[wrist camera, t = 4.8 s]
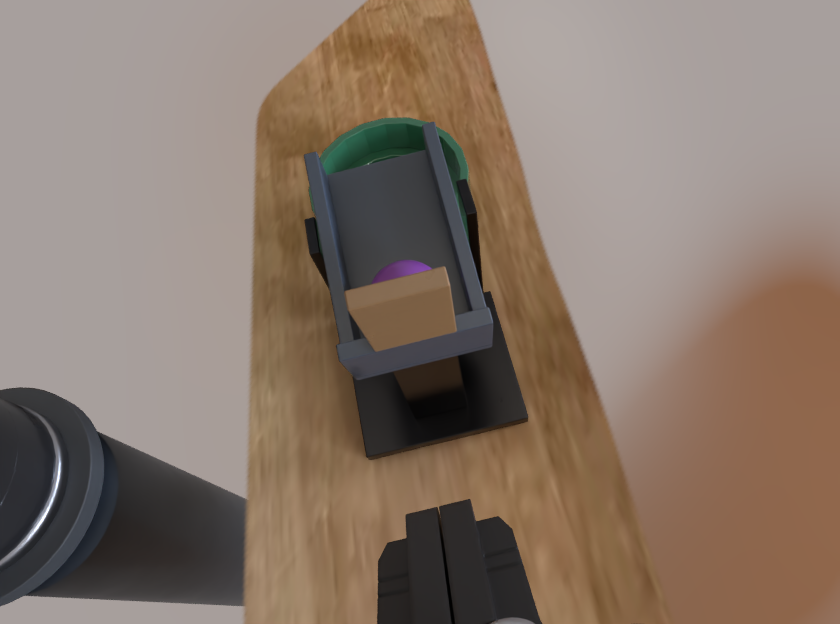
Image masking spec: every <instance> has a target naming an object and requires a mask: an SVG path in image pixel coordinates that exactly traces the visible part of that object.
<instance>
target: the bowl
mask: <svg viewBox="0 0 840 624" xmlns="http://www.w3.org/2000/svg"><path fill="white" fill-rule="evenodd" d="M426 123H429V122H425V121H421V120H416V119H412V118H383V119H379V120H375V121H371V122H368V123H364V124H361V125H359V126H357V127H355V128H353V129H352V130H350V131H348V132H346V133H344V134H342V135H341V136H339V137H338V138H337V139H336V140H335V141H334V142H333V143H332V144H331V145H330V146H329V147H328V148H326V149H325V150H324V152H323V153H322V155H321V157H320V161H321V163H322V165H323V167H324V169H325V171H326V174H327V175H329V174H333V173H336V172H340V171H344V170H348V169H352V168H356V167H360V166H364V165H368V164H372V163H376V162H380V161H384V160H387V159H391V158H395V157H399V156H403V155H407V154H411V153H415V152H419V151H423V150H425V144H424V137H423V131H422V125H423V124H426ZM436 129H437V132H438V136H439V139H440V143H441V147H442V150H443V154H444V157H445V161H446V164H447V168H448V172H449V175H450V179H451V182H452V186H453V189H454V193H455V197H456V200H457V204H458V207H459V201H458V193H457V184H456V181H458V180H462V179H467V182H468V185H469V189H470V179H469V169H468V165H467V162H466V159H465V156H464V153H463V150H462V148H461V147H460V146H459V145H458V144H457V143H456V141H455V140H454V139H453V138H452V137H451V136H450V134H448V133H447V132H445V131H444V130H442V129H440V128H438V127H437V126H436ZM470 192H471V190H470ZM309 196H310V201H311V207H312V211H313V213H314V215H315V211H314V206H313V201H312V195H311V190H310V186H309ZM459 211H460V209H459ZM315 217H316V216H315Z"/></svg>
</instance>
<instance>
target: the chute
mask: <svg viewBox="0 0 840 624" xmlns="http://www.w3.org/2000/svg"><path fill="white" fill-rule="evenodd" d="M422 131H423V137H424V144H425V150H423V151H419V152H415V153H411V154H407V155H403V156H399V157H395V158H391V159H387V160H384V161H380V162H376V163H372V164H368V165H364V166H360V167H356V168H352V169H348V170H344V171H340V172H336V173H333V174H329V175H327V174H326V171H325V169H324V167H323V165H322V163H321V161H320V158H319V156H318V154H317V152H313V153H309V154H305V155H304V159H305V164H306V170H307V175H308V180H309V185H310V190H311V195H312V201H313V206H314V211H315V216H316V221H317V226H318V232H319V237H320V242H321V247H322V252H323V257H324V263H325V268H326V273H327V278H328V283H329V289H330V294H331V299H332V304H333V309H334V314H335V320H336V325H337V330H338V335H339V340H340V344H337V345H336V347H337V353H338V358H339V361H340V362H341V364H342V365H343V366H344V367H345V368H346V369H347V370H348V371H349V372H350V373H351V374H352V375H353V376H354V378H355V379H356V380H361V379H365V378H369V377H373V376H377V375H381V374H385V373H389V372H393V371H397V370H401V369H405V368H409V367H413V366H417V365H421V364H425V363H429V362H434V361H438V360H442V359H446V358H450V357H454V356H458V355H462V354H466V353H470V352H474V351H478V350H482V349H486V348H490V347H492V338H493V320H492V316H491V313H490V309H489V307H486V304H485V300H484V296H483V293H482V289H481V286H480V282H479V279H478V275H477V271H476V268H475V264H474V261H473V257H472V254H471V250H470V247H469V243H468V239H467V236H466V232H465V229H464V225H463V222H462V218H461V214H460V211H459V207H458V204H457V200H456V197H455V193H454V189H453V186H452V182H451V179H450V175H449V172H448V168H447V164H446V161H445V157H444V154H443V150H442V147H441V143H440V139H439V136H438V132H437V129H436V125H435V122H430V123H426V124H423V125H422ZM400 260H414V261H418V262H421V263H423V264H425V265H427V266H429V267H430V268H432V269H430V270H426V271H422V272H418V273H414V274H410V275H406V276H402V277H398V278H394V279H390V280H386V281H382V282H378V283H374V284H371V283H372V281H373V279H374V278H375V276H376V275H377V274H378V272H379V271H380V270H382V269H383V268H384V267H386V266H387V265H389V264H391V263H393V262H396V261H400Z"/></svg>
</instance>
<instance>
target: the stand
mask: <svg viewBox="0 0 840 624" xmlns="http://www.w3.org/2000/svg"><path fill="white" fill-rule="evenodd" d="M456 184H457V193H458V201H459V209H460V214H461V218H462V222H463V225H464V229H465V232H466V236H467V239H468V243H469V247H470V250H471V254H472V257H473V261H474V264H475V268H476V271H477V275H478V279H479V282H480V286H481V289H482V293H483V282H482V270H481V257H480V245H479V233H478V221H477V211H476V208H475V205H474V201H473V198H472V195H471V192H470V189H469V185H468V182H467V179H462V180H458V181H456ZM305 227H306V233H307V240H308V246H309V253H310V256H311V257H312V259H313V261H314V263H315V265H316V266H317V268H318V270H319V272H320V274H321V276H322V277H323V279H324V281H325V283H326V285H327V286H328V288H329V283H328V278H327V273H326V268H325V263H324V257H323V252H322V247H321V242H320V237H319V232H318V226H317V222H316V219H315V218H314V217H312V218H309V219H305ZM329 290H330V289H329ZM483 296H484V300H485V304H486V307H489V309H490V313H491V316H492V320H493V338H492V347H490V348H486V349H482V350H478V351H474V352H470V353H466V354H462V355H458V356H454V357H450V358H446V359H442V360H438V361H434V362H429V363H425V364H421V365H417V366H413V367H409V368H405V369H401V370H397V371H393V372H389V373H385V374H381V375H377V376H373V377H369V378H365V379H361V380H356V379H355V378H354V376H353V375H352V376H353V382H354V387H355V393H356V399H357V405H358V411H359V416H360V422H361V428H362V434H363V440H364V445H365V451H366V457H367V458H368V459H369V460H372V459H377V458H381V457H385V456H389V455H393V454H397V453H401V452H405V451H409V450H413V449H417V448H421V447H426V446H430V445H434V444H438V443H442V442H446V441H450V440H454V439H458V438H462V437H466V436H470V435H475V434H479V433H483V432H487V431H491V430H495V429H499V428H503V427H507V426H511V425H515V424H520V423H524V422H527V421H528V414H527V411H526V407H525V404H524V401H523V398H522V394H521V391H520V388H519V384H518V381H517V378H516V374H515V371H514V368H513V364H512V361H511V358H510V355H509V351H508V348H507V345H506V341H505V338H504V335H503V331H502V328H501V325H500V321H499V318H498V315H497V312H496V308H495V305H494V302H493V298H492V295H491V292H490V291H489V292H485V293H483Z"/></svg>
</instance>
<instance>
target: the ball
mask: <svg viewBox="0 0 840 624" xmlns="http://www.w3.org/2000/svg"><path fill="white" fill-rule="evenodd" d="M430 269H432V268H430V267H429V266H427V265H425V264H423V263H421V262H418V261H414V260H400V261H396V262H393V263H391V264H389V265H387V266H386V267H384V268H383V269H382V270H380V271H379V272H378V274H377V275H376V276H375V278H374V279H373V281H372V283H371V284H374V283H378V282H382V281H386V280H390V279H394V278H398V277H402V276H406V275H410V274H414V273H418V272H422V271H426V270H430Z"/></svg>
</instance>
